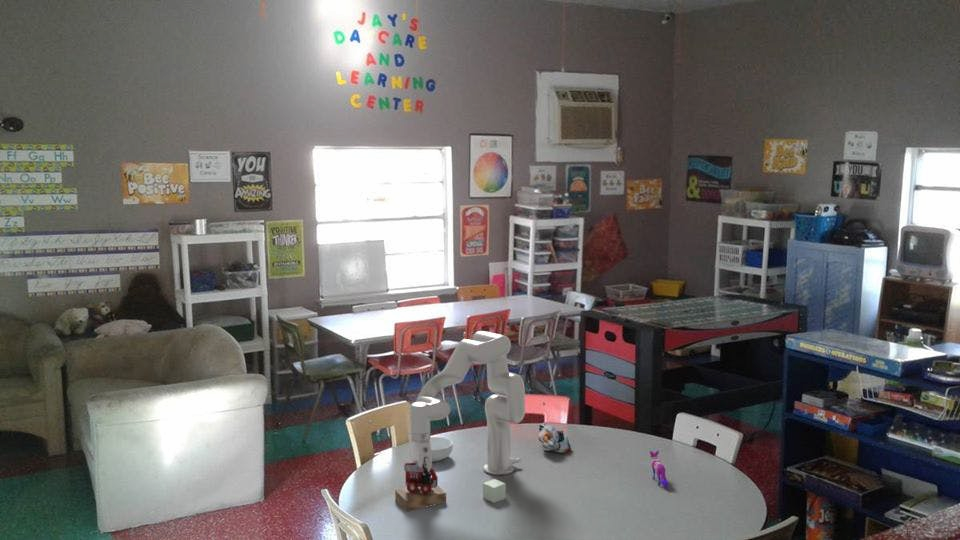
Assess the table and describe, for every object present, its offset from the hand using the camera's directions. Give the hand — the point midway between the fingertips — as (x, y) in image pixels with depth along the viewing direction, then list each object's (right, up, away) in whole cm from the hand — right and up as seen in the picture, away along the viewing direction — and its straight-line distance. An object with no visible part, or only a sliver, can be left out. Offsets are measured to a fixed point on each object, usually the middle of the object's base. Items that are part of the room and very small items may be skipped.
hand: (420, 479), depth 297 cm
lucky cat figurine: (+55, -1, +54) cm, 77 cm away
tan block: (0, -8, +1) cm, 8 cm away
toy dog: (+94, -6, +20) cm, 96 cm away
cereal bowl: (+2, -3, +44) cm, 45 cm away
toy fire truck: (0, -4, +1) cm, 4 cm away
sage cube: (+28, -8, +4) cm, 29 cm away
